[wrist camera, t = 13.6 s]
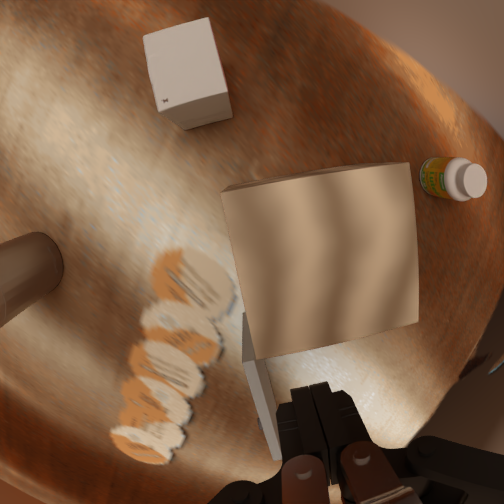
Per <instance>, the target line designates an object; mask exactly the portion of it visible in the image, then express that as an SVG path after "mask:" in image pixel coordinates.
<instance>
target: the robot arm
mask: <svg viewBox="0 0 504 504" xmlns="http://www.w3.org/2000/svg"><path fill="white" fill-rule="evenodd" d="M62 273H63V263H62V258H61V255H60V252H59V250H58V248H57V246H56V244H55V243H54V242H53V241H52V239H50V238H49V237H48V236H47V235H45V234H43V233H40V232H32V233H29V234H26V235H23V236H20V237H17V238H14V239H12V240H9V241H6V242H4V243H1V244H0V328H1V327H2V326H4V325H5V324H6V323H8V322H9V321H10V320H11V319H13V318H14V317H15V316H17V315H18V314H20V313H21V312H22V311H24V310H25V309H26V308H28V307H29V306H30V305H32V304H33V303H35V302H36V301H37V300H39V299H40V298H42V297H43V296H45V295H46V294H47V293H49V292H50V291H52V290H53V289H54V288H55V287H56V286H58V284H59V282H60V280H61V277H62ZM290 392H291V398H292V402H288V403H283V404H279V407H278V409H277V411H276V420H277V427H278V434H279V440H280V447H281V454H282V467H281V469H280V470H279V472H278V473H277V474H276V475H275V476H273V477H272V478H270V479H268V480H266V481H264V482H261V483H259V484H256V483H254V482H251V481H245V480H241V481H235V482H232V483H230V484H228V485H226V486H225V487H224V488H223V489H222V490H221V491H220V492H219V493H218V494H217V495H216V496H215V497H214V498H213V499H212V500H211V501H210V502H209V503H207V504H330V499H329V492H328V486H330V480H331V484H332V485H334V484H338V483H339V487H340V490H341V500H342V503H343V504H504V455H501V454H497V453H493V452H489V451H485V450H481V449H477V448H473V447H469V446H466V445H462V444H459V443H455V442H452V441H448V440H445V439H442V438H438V437H435V436H422V437H419V438H416V439H415V440H413V441H412V442H411V443H410V444H409V446H408V448H398V449H386V448H382V447H379V446H378V445H377V444H375V443H373V441H372V440H371V438H370V436H369V434H368V432H367V430H366V427H365V425H364V423H363V421H362V419H361V417H360V415H359V413H358V410H357V408H356V407H355V404H354V402H353V400H352V398H351V396H350V395H348V394H347V393H346V392H344V391H343V390H341V391H337V392H333V393H332V392H331V389H330V387H329V384H328V382H327V381H326V382H322V383H318V384H313V385H309V387H308V386H305V387H300V388H295V389H290Z"/></svg>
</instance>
